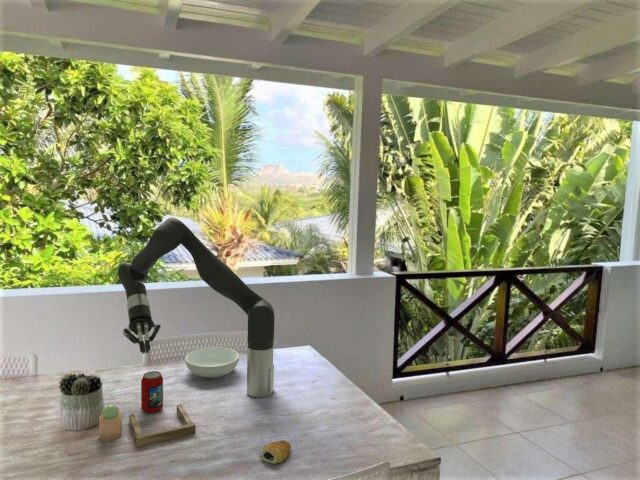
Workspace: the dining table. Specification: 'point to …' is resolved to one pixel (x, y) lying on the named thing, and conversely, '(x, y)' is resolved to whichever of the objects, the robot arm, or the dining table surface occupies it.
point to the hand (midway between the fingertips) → (145, 352)
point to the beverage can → (152, 392)
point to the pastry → (275, 452)
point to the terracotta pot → (110, 423)
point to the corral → (163, 434)
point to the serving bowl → (212, 361)
